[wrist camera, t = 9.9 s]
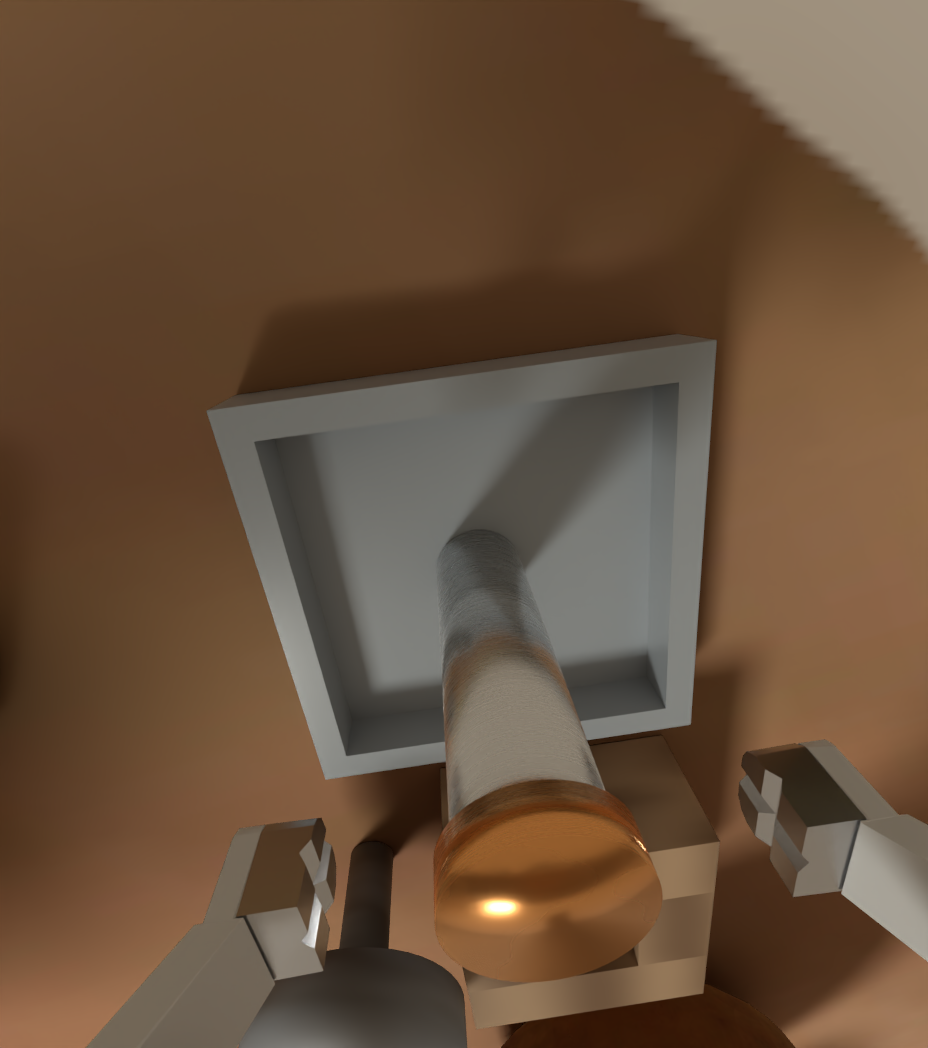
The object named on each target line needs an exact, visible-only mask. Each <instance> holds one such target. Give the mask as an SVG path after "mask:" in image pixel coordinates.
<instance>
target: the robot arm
mask: <svg viewBox="0 0 928 1048" xmlns="http://www.w3.org/2000/svg"><path fill="white" fill-rule="evenodd" d="M741 766H742V768H743V769H744V771H745V772H746V774H747V775H746V776H745V777H744V778H743V779H742V780H741V781H740V782H739V793H738V796H739V800H740V805H741V809H742V812H743V814H744V817H745V819H746V821H747V823H748V825H749V827H750V828H751V830H752V832H753V833H754V835H755V836H756V837H757V838H759V839H760V840H762V841H763V842H765V843H766V844H768V845H769V846H771V849H770V861H771V863H772V864H773V866H774V867H775V869H776V871H777V872H778V874H779V875H780V877H781V879H782V880H783V882H784V883H785V885H786V887H787V888H788V890H789V891H790V893H791V895H792V896H793V897H797V896H805V895H813V894H821V893H829V892H837V891H842V893H841V894H842V895H843V896H845V897H846V898H847V899H848V900H850V901H851V902H852V903H854V904H855V905H856V906H857V907H859V908H860V909H861V910H862V911H864V912H865V913H866V914H868V915H869V916H870V917H871V918H873V919H874V920H875V921H877V922H878V923H879V924H880V925H882V926H883V927H884V928H885V929H887V930H888V931H889V932H891V933H892V934H893V935H894V936H896V937H897V938H898V939H899V940H901V941H902V942H903V943H905V944H906V945H907V946H908V947H910V948H911V949H912V950H913V951H915V952H916V953H917V954H919V955H920V956H921V957H922V958H924V959H925V960H926V961H927V962H928V825H927V824H925V823H923V822H921V821H919V820H918V819H916V818H914V817H912V816H910V815H908V814H903V815H898V814H897V812H896V811H895V810H894V809H893V808H892V807H891V806H890V805H889V804H888V803H887V802H886V801H885V800H884V798H883V797H882V796H881V795H880V794H879V793H878V792H877V791H876V790H875V789H874V788H873V787H872V786H871V784H870V783H869V782H868V781H867V780H866V779H865V778H864V777H863V776H862V775H861V774H860V773H859V772H858V770H857V769H856V768H855V767H854V766H853V765H852V764H851V763H850V762H849V761H848V760H847V759H846V757H845V756H844V755H843V754H842V753H841V752H840V751H839V750H838V749H837V748H836V747H835V746H834V745H833V744H832V743H831V742H829V741H827V740H817V741H811V742H805V743H799V744H795V743H794V744H788V745H782V746H776V747H770V748H764V749H758V750H753V751H747V752H746V753H745V754H744V755H743V758H742V765H741ZM325 832H326V828H325V826H324V823H323V821H322V818H316V819H308V820H299V821H291V822H283V823H275V824H267V825H260V826H253V827H246V828H239V830H238V831H237V833H236V834H235V836H234V837H233V839H232V842H231V844H230V847H229V850H228V853H227V856H226V859H225V861H224V864H223V867H222V870H221V873H220V876H219V879H218V881H217V884H216V887H215V890H214V893H213V896H212V899H211V901H210V904H209V907H208V910H207V913H206V916H205V918H204V921H203V923H202V924H197V925H194V926H193V927H192V928H191V929H190V930H189V932H188V933H187V934H186V935H185V936H184V937H183V938H182V939H181V941H180V942H179V943H178V944H177V945H176V946H175V947H174V949H173V950H172V951H171V952H170V953H169V954H168V955H167V956H166V958H165V959H164V960H163V961H162V962H161V963H160V964H159V965H158V967H157V968H156V969H155V970H154V971H153V972H152V973H151V975H150V976H149V977H148V978H147V979H146V980H145V981H144V982H143V984H142V985H141V986H140V987H139V988H138V989H137V990H136V991H135V993H134V994H133V995H132V996H131V997H130V998H129V999H128V1001H127V1002H126V1003H125V1004H124V1005H123V1006H122V1007H121V1008H120V1010H119V1011H118V1012H117V1013H116V1014H115V1015H114V1016H113V1017H112V1019H111V1020H110V1021H109V1022H108V1023H107V1024H106V1025H105V1026H104V1028H103V1029H102V1030H101V1031H100V1032H99V1033H98V1034H97V1036H96V1037H95V1038H94V1039H93V1040H92V1041H91V1042H90V1043H89V1045H88V1046H87V1047H86V1048H237V1046H238V1044H239V1043H240V1041H241V1039H242V1038H243V1036H244V1035H245V1033H246V1031H247V1030H248V1028H249V1026H250V1025H251V1023H252V1021H253V1020H254V1018H255V1016H256V1015H257V1013H258V1011H259V1010H260V1008H261V1006H262V1005H263V1003H264V1002H265V1000H266V998H267V997H268V995H269V993H270V992H271V990H272V988H273V987H274V985H275V982H274V980H280V979H285V978H290V977H295V976H301V975H306V974H311V973H316V972H322V971H324V964H325V958H326V951H327V944H328V938H329V931H330V927H329V925H328V922H327V919H326V916H325V913H326V912H327V910H328V909H329V908H330V906H331V905H332V903H333V902H334V896H335V888H336V862H335V856H334V852H333V849H332V846H331V845H330V844H328V843H327V842H325V841H324V838H325Z"/></svg>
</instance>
